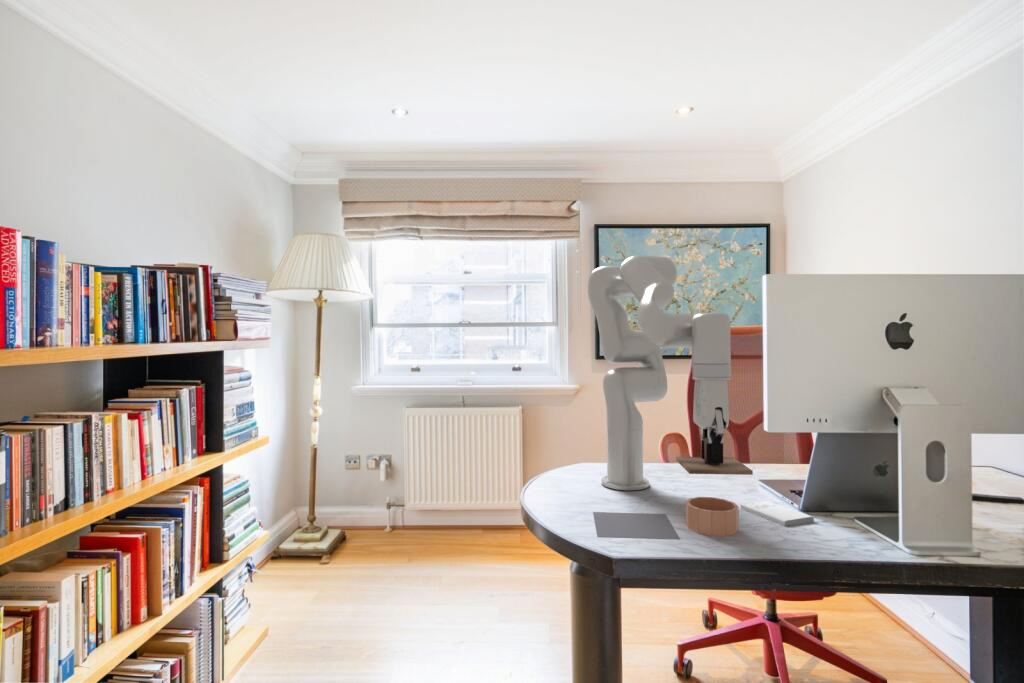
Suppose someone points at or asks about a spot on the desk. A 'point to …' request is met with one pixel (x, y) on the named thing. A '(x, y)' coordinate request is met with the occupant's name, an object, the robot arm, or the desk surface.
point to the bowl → (712, 516)
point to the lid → (713, 465)
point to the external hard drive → (777, 513)
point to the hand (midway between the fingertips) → (712, 460)
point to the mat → (634, 525)
